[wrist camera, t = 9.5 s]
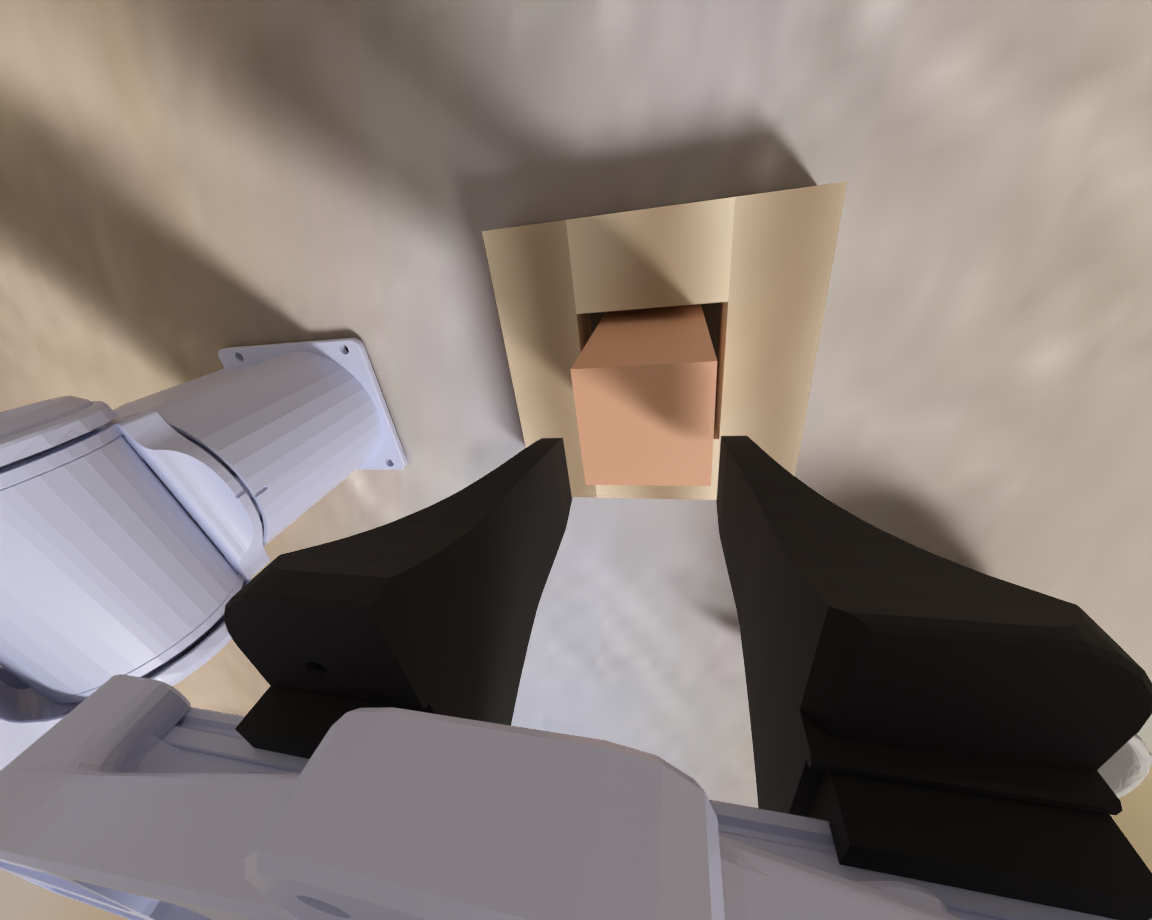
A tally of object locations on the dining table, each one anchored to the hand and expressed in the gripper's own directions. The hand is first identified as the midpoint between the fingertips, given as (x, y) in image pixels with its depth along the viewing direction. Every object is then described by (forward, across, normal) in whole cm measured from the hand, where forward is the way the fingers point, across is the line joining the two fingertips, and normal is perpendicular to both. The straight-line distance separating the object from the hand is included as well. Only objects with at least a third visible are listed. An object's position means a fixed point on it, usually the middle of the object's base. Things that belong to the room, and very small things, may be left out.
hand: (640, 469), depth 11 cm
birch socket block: (+10, 0, 0) cm, 10 cm away
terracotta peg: (+10, 0, 0) cm, 10 cm away
